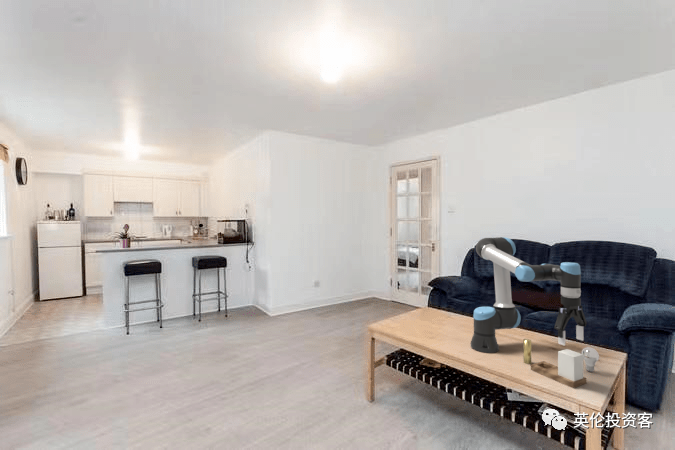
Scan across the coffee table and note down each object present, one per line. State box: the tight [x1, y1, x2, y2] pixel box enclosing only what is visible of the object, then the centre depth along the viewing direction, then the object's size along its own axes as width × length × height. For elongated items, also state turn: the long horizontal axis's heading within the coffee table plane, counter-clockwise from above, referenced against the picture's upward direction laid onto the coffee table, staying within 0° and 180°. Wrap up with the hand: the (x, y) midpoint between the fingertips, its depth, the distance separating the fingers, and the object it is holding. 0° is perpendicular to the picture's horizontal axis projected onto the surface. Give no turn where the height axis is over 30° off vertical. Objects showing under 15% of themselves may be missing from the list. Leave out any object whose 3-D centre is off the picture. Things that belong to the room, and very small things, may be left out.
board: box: [530, 360, 588, 389], centre depth 157 cm, size 20×10×12 cm, turn 24°
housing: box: [557, 348, 584, 381], centre depth 151 cm, size 7×7×11 cm
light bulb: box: [581, 346, 600, 373], centre depth 161 cm, size 7×7×12 cm
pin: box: [522, 338, 532, 365], centre depth 172 cm, size 4×4×12 cm
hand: (571, 342), depth 151 cm, fingers open, 13 cm apart
